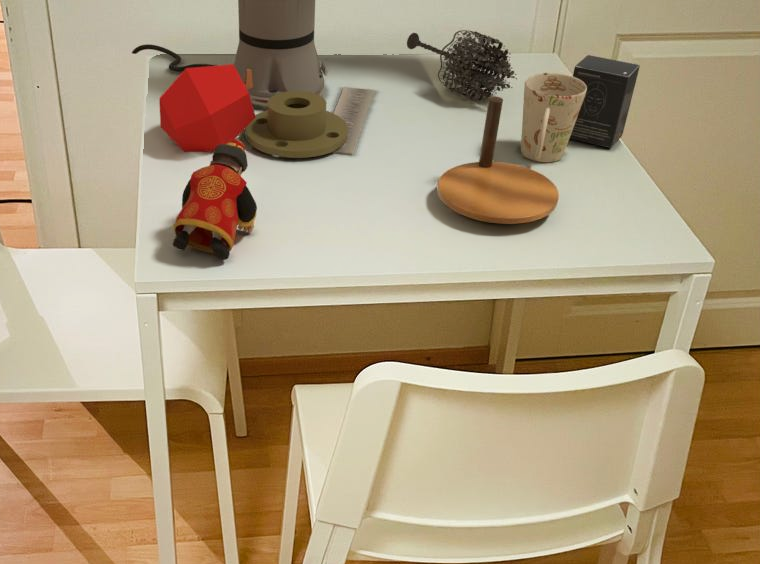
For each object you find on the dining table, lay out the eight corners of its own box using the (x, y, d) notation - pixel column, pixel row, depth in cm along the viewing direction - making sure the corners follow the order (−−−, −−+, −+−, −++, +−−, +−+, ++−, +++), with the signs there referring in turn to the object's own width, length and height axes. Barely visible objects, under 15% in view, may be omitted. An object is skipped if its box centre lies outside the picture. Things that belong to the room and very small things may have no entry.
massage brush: (384, 38, 152) (401, 82, 159) (484, 80, 139) (498, 125, 146) (423, -3, 152) (439, 42, 160) (526, 35, 139) (538, 82, 147)
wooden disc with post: (457, 158, 130) (467, 88, 124) (569, 181, 126) (585, 109, 119) (421, 207, 120) (429, 133, 113) (541, 234, 115) (558, 159, 109)
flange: (364, 92, 137) (270, 75, 142) (326, 133, 127) (227, 114, 132) (361, 122, 141) (270, 105, 145) (325, 165, 131) (228, 145, 135)
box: (622, 136, 140) (641, 64, 133) (610, 149, 136) (629, 76, 129) (571, 124, 143) (587, 53, 136) (558, 137, 139) (574, 64, 132)
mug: (573, 145, 138) (588, 76, 131) (566, 183, 129) (583, 112, 122) (516, 137, 139) (528, 69, 132) (505, 174, 130) (518, 104, 124)
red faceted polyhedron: (187, 182, 137) (278, 136, 138) (165, 131, 126) (265, 81, 126) (155, 123, 141) (244, 79, 142) (132, 68, 130) (228, 20, 130)
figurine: (243, 281, 117) (279, 181, 121) (233, 241, 108) (273, 134, 112) (171, 264, 118) (209, 165, 122) (156, 223, 109) (197, 118, 113)
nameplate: (352, 152, 134) (318, 149, 135) (352, 154, 134) (318, 151, 135) (374, 89, 151) (343, 87, 152) (374, 91, 151) (343, 89, 152)
